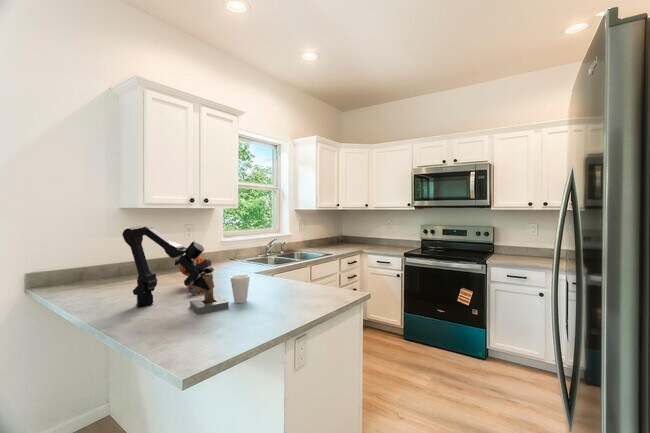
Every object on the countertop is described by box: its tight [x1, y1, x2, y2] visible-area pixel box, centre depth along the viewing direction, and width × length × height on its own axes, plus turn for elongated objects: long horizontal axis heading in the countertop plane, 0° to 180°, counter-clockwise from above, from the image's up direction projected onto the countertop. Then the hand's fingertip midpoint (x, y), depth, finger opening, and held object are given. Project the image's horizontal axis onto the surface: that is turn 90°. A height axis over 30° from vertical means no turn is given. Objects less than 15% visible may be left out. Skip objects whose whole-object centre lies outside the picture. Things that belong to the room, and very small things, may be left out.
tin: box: [187, 281, 215, 296], centre depth 179 cm, size 15×3×8 cm, turn 143°
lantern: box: [179, 254, 210, 277], centre depth 195 cm, size 17×17×30 cm
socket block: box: [189, 295, 230, 315], centre depth 152 cm, size 14×14×3 cm
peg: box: [203, 273, 214, 304], centre depth 152 cm, size 4×4×14 cm
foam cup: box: [230, 273, 250, 304], centre depth 162 cm, size 10×9×13 cm
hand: (211, 288), depth 152 cm, fingers closed on peg, 4 cm apart
